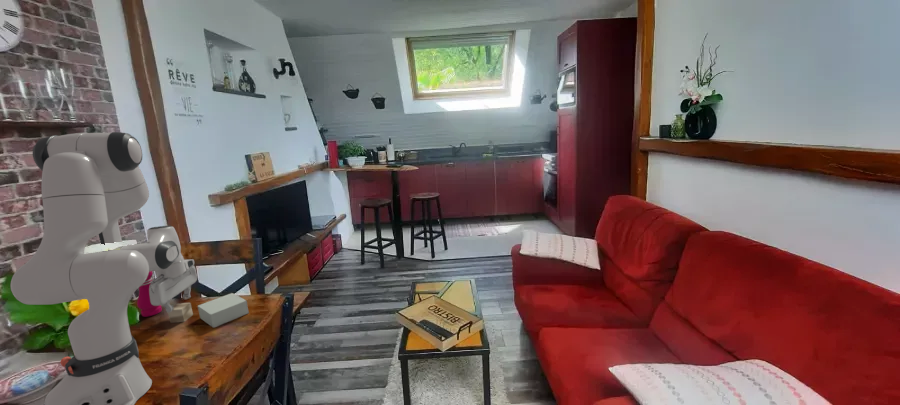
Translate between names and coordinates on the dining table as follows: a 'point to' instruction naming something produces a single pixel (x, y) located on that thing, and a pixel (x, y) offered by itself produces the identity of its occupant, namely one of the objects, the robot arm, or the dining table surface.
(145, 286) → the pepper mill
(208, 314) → the base block
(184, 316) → the birch cube
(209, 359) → the dining table surface
